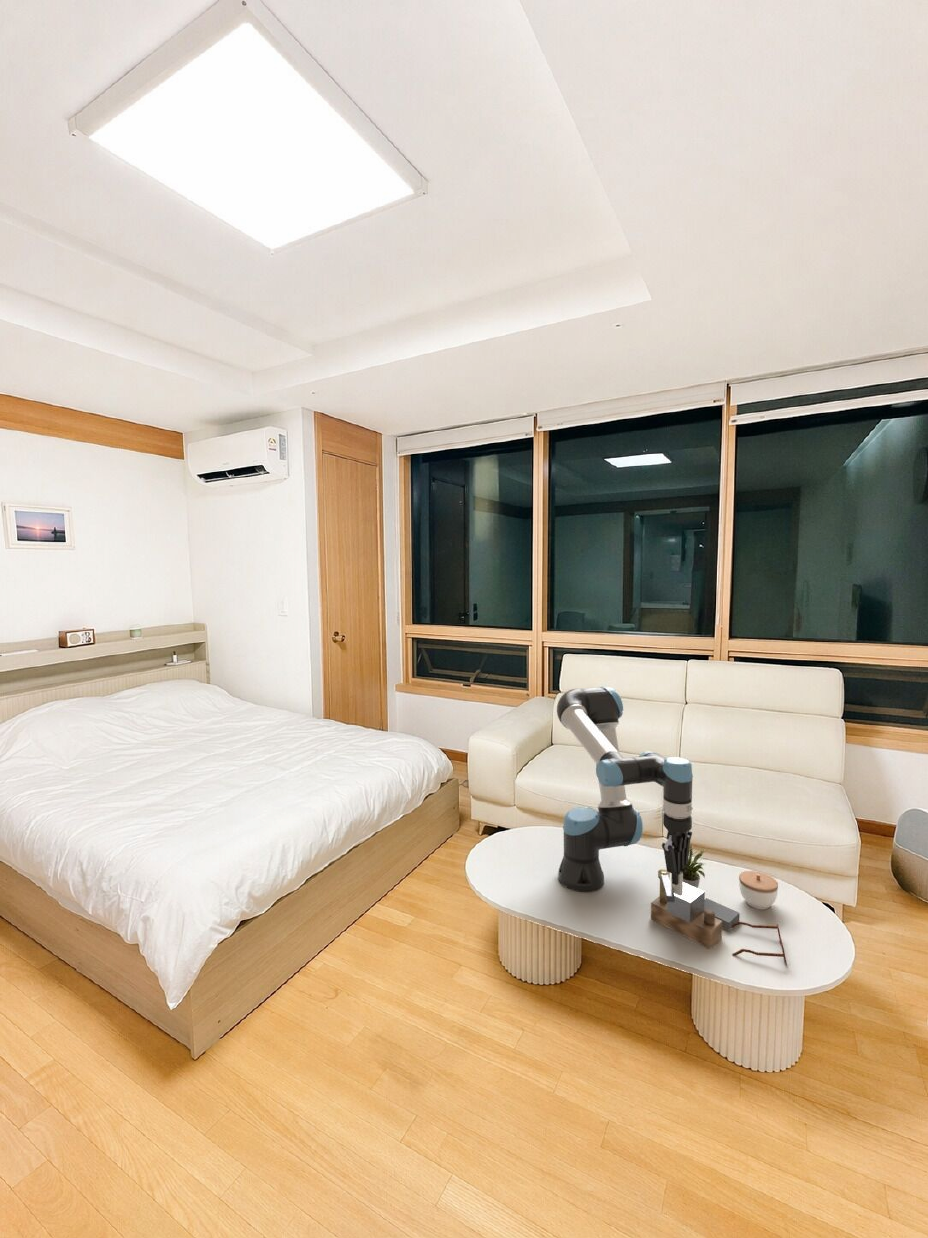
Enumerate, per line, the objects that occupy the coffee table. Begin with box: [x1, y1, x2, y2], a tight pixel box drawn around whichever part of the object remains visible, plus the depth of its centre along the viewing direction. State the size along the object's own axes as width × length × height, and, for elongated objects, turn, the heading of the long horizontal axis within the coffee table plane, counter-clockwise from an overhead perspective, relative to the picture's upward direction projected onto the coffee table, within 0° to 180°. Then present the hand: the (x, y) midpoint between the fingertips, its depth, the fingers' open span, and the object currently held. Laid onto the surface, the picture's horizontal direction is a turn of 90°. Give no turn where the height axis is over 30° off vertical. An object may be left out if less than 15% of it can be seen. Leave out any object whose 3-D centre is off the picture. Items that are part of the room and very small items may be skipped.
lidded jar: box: [738, 870, 779, 910], centre depth 172 cm, size 11×11×9 cm
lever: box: [657, 868, 675, 902], centre depth 160 cm, size 14×3×2 cm, turn 169°
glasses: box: [731, 921, 788, 965], centre depth 153 cm, size 13×13×5 cm
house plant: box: [683, 843, 708, 889], centre depth 177 cm, size 14×14×16 cm
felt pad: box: [704, 897, 741, 932], centre depth 165 cm, size 10×7×2 cm
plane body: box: [650, 879, 723, 950], centre depth 160 cm, size 18×7×12 cm, turn 41°
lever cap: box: [667, 882, 706, 923], centre depth 160 cm, size 7×8×6 cm
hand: (677, 893), depth 157 cm, fingers closed
